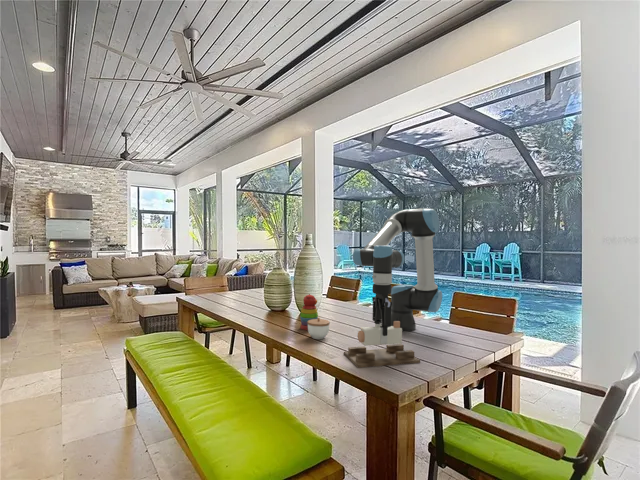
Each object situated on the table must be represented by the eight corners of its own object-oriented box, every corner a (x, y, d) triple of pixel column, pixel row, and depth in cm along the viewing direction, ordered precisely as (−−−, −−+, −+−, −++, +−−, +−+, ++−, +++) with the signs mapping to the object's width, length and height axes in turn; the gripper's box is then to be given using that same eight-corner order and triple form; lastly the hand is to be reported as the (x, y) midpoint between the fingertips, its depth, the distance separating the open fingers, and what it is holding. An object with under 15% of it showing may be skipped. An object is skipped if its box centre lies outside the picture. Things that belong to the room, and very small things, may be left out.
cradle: (400, 349, 152) (400, 341, 152) (420, 362, 136) (420, 353, 136) (343, 354, 145) (343, 345, 145) (357, 367, 130) (357, 358, 130)
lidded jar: (307, 334, 175) (308, 315, 175) (329, 334, 174) (329, 315, 174) (306, 340, 164) (306, 320, 164) (329, 340, 163) (329, 320, 163)
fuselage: (396, 340, 145) (397, 319, 145) (401, 343, 140) (402, 322, 140) (357, 342, 140) (358, 321, 140) (361, 345, 136) (362, 323, 136)
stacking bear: (316, 331, 180) (317, 296, 180) (297, 330, 182) (298, 295, 182) (320, 326, 191) (321, 293, 191) (302, 325, 193) (303, 292, 193)
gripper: (365, 281, 148) (363, 336, 148) (383, 286, 131) (381, 348, 131) (381, 281, 150) (380, 335, 150) (401, 286, 133) (399, 347, 133)
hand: (380, 341), depth 141 cm, fingers closed on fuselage, 4 cm apart
